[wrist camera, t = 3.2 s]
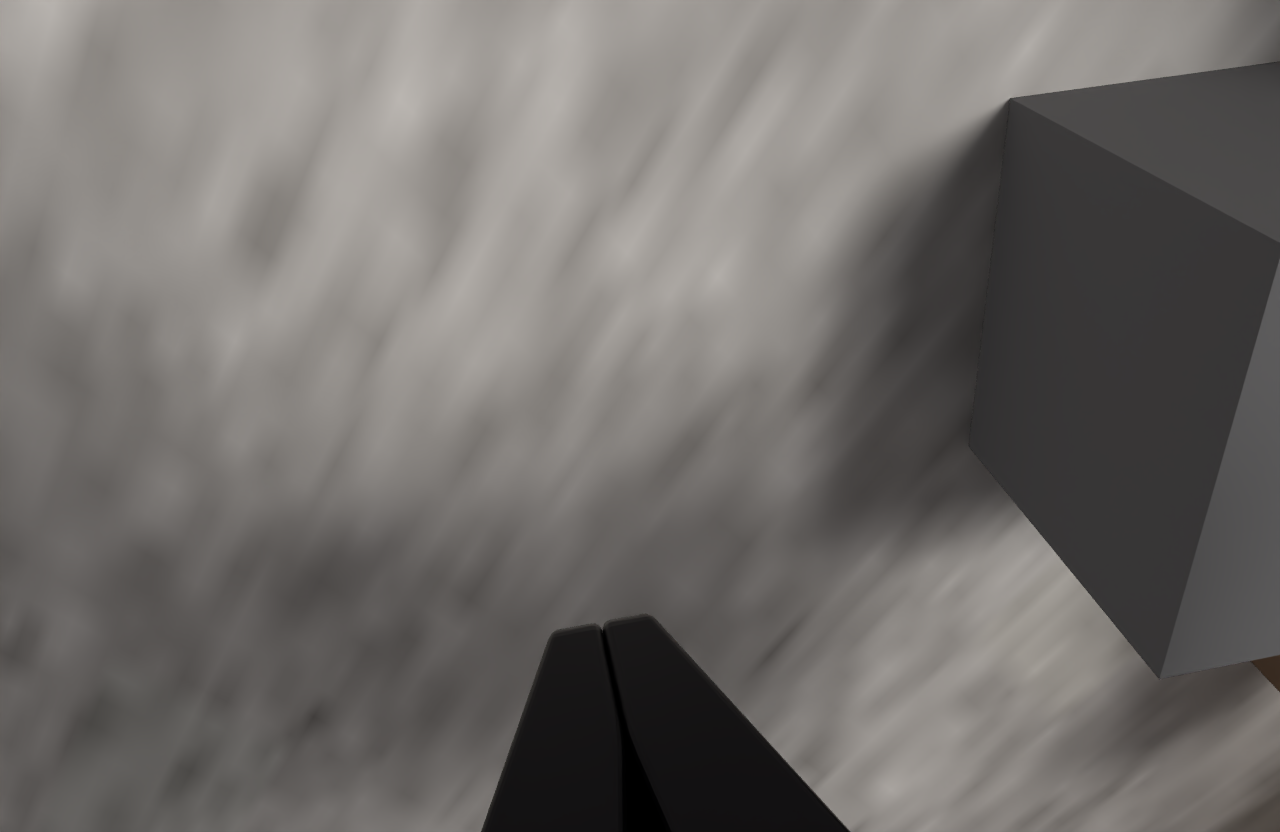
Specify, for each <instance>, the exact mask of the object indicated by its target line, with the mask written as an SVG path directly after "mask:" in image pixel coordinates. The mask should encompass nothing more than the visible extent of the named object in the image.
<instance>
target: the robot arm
mask: <svg viewBox="0 0 1280 832" xmlns="http://www.w3.org/2000/svg"><path fill="white" fill-rule="evenodd" d="M481 832H850V831H849V830H848V829H847V827H846V826H845V825H844V824H843V823H842V822H841V821H840V820H839V819H838V818H837V817H836V815H835V814H834V813H833V812H832V811H831V810H830V809H829V808H828V807H827V806H826V805H825V803H824V802H823V801H822V800H821V799H820V798H819V797H818V796H817V795H816V794H815V793H814V791H813V790H812V789H811V788H810V787H809V786H808V785H807V784H806V783H805V782H804V781H803V779H802V778H801V777H800V776H799V775H798V774H797V773H796V772H795V771H794V770H793V768H792V767H791V766H790V765H789V764H788V763H787V762H786V761H785V760H784V759H783V758H782V756H781V755H780V754H779V753H778V752H777V751H776V750H775V749H774V748H773V747H772V746H771V744H770V743H769V742H768V741H767V740H766V739H765V738H764V737H763V736H762V735H761V734H760V732H759V731H758V730H757V729H756V728H755V727H754V726H753V725H752V724H751V723H750V722H749V720H748V719H747V718H746V717H745V716H744V715H743V714H742V713H741V712H740V711H739V709H738V708H737V707H736V706H735V705H734V704H733V703H732V702H731V701H730V700H729V699H728V697H727V696H726V695H725V694H724V693H723V692H722V691H721V690H720V689H719V688H718V687H717V685H716V684H715V683H714V682H713V681H712V680H711V679H710V678H709V677H708V676H707V675H706V673H705V672H704V671H703V670H702V669H701V668H700V667H699V666H698V665H697V664H696V663H695V661H694V660H693V659H692V658H691V657H690V656H689V655H688V654H687V653H686V652H685V650H684V649H683V648H682V647H681V646H680V645H679V644H678V643H677V642H676V641H675V640H674V638H673V637H672V636H671V635H670V634H669V633H668V632H667V631H666V630H665V629H664V628H663V626H662V625H661V624H660V623H659V622H658V621H657V620H656V619H655V618H654V617H652V616H651V615H648V614H640V615H635V616H629V617H624V618H618V619H613V620H609V621H607V622H606V623H605V624H604V626H603V633H602V630H601V628H600V626H599V625H597V624H586V625H581V626H576V627H570V628H565V629H560V630H556V631H555V632H553V633H552V634H551V636H550V638H549V639H548V642H547V645H546V647H545V650H544V653H543V656H542V659H541V662H540V665H539V667H538V670H537V673H536V676H535V679H534V682H533V685H532V688H531V690H530V693H529V696H528V699H527V702H526V705H525V708H524V710H523V713H522V716H521V719H520V722H519V725H518V728H517V730H516V733H515V736H514V739H513V742H512V745H511V748H510V750H509V753H508V756H507V759H506V762H505V765H504V768H503V770H502V773H501V776H500V779H499V782H498V785H497V788H496V790H495V793H494V796H493V799H492V802H491V805H490V808H489V810H488V813H487V816H486V819H485V822H484V825H483V828H482V831H481Z"/></svg>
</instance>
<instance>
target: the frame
mask: <svg viewBox="0 0 1280 832" xmlns="http://www.w3.org/2000/svg"><path fill="white" fill-rule="evenodd" d="M1251 662H1252V663H1253V664H1254V665H1255V666H1256V667H1257V668H1258V669H1259V670H1260V671H1261V673H1262V674H1263V675H1264V676H1265V677H1266V678H1267V679H1268V680H1269V681H1270V682H1271V683H1272V684H1273V685H1274V686H1275V688H1276V689H1277V690H1278V691H1279V692H1280V655H1277V656H1272V657H1267V658H1262V659H1257V660H1252V661H1251Z"/></svg>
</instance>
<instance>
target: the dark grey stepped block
mask: <svg viewBox="0 0 1280 832" xmlns="http://www.w3.org/2000/svg"><path fill="white" fill-rule="evenodd" d="M969 447H970V448H971V450H972V451H973V452H974V453H975V455H976V456H977V457H978V458H979V459H980V461H981V462H982V463H983V464H984V466H985V467H986V468H987V469H988V470H989V472H990V473H991V474H992V475H993V477H994V478H995V479H996V480H997V481H998V483H999V484H1000V485H1001V486H1002V488H1003V489H1004V490H1005V491H1006V492H1007V494H1008V495H1009V496H1010V497H1011V499H1012V500H1013V501H1014V502H1015V503H1016V505H1017V506H1018V507H1019V508H1020V510H1021V511H1022V512H1023V513H1024V514H1025V516H1026V517H1027V518H1028V519H1029V521H1030V522H1031V523H1032V524H1033V525H1034V527H1035V528H1036V529H1037V530H1038V532H1039V533H1040V534H1041V535H1042V536H1043V538H1044V539H1045V540H1046V541H1047V543H1048V544H1049V545H1050V546H1051V547H1052V549H1053V550H1054V551H1055V552H1056V554H1057V555H1058V556H1059V557H1060V558H1061V560H1062V561H1063V562H1064V563H1065V565H1066V566H1067V567H1068V568H1069V569H1070V571H1071V572H1072V573H1073V574H1074V576H1075V577H1076V578H1077V579H1078V580H1079V582H1080V583H1081V584H1082V585H1083V587H1084V588H1085V589H1086V590H1087V591H1088V593H1089V594H1090V595H1091V596H1092V598H1093V599H1094V600H1095V601H1096V602H1097V604H1098V605H1099V606H1100V607H1101V609H1102V610H1103V611H1104V612H1105V613H1106V615H1107V616H1108V617H1109V618H1110V620H1111V621H1112V622H1113V623H1114V624H1115V626H1116V627H1117V628H1118V629H1119V631H1120V632H1121V633H1122V634H1123V635H1124V637H1125V638H1126V639H1127V640H1128V642H1129V643H1130V644H1131V645H1132V646H1133V648H1134V649H1135V650H1136V651H1137V653H1138V654H1139V655H1140V656H1141V657H1142V659H1143V660H1144V661H1145V662H1146V664H1147V665H1148V666H1149V667H1150V668H1151V670H1152V671H1153V672H1154V673H1155V675H1156V676H1157V677H1158V678H1159V679H1164V678H1168V677H1173V676H1178V675H1183V674H1188V673H1193V672H1198V671H1203V670H1208V669H1213V668H1218V667H1223V666H1228V665H1232V664H1237V663H1242V662H1247V661H1252V660H1257V659H1262V658H1267V657H1272V656H1277V655H1280V62H1274V63H1267V64H1259V65H1252V66H1244V67H1237V68H1230V69H1222V70H1215V71H1208V72H1200V73H1193V74H1185V75H1178V76H1171V77H1163V78H1156V79H1149V80H1141V81H1134V82H1126V83H1119V84H1112V85H1104V86H1097V87H1090V88H1082V89H1075V90H1067V91H1060V92H1053V93H1045V94H1038V95H1031V96H1023V97H1016V98H1010V104H1009V113H1008V121H1007V129H1006V138H1005V146H1004V154H1003V163H1002V171H1001V179H1000V188H999V196H998V204H997V213H996V221H995V229H994V238H993V246H992V254H991V263H990V271H989V279H988V288H987V296H986V304H985V313H984V321H983V330H982V338H981V346H980V355H979V363H978V371H977V380H976V388H975V396H974V405H973V413H972V421H971V430H970V438H969Z"/></svg>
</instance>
